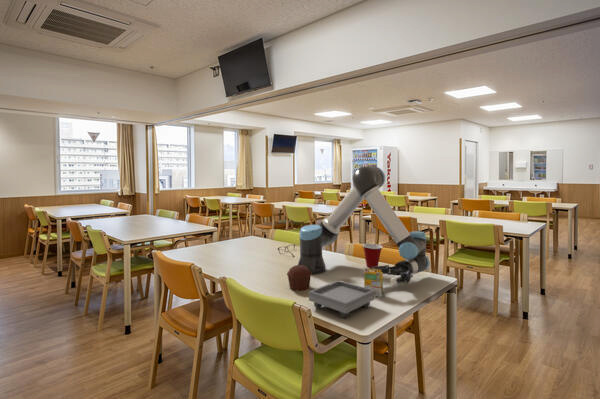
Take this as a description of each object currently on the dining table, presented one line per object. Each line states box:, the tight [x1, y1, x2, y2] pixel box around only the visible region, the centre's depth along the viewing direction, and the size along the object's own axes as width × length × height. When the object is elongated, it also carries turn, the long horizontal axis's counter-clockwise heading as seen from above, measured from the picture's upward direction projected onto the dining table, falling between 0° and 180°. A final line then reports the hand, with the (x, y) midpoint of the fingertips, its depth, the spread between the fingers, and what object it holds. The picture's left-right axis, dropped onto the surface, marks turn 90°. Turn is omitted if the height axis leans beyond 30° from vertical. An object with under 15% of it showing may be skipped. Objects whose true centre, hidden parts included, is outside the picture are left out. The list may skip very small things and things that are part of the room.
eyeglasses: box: [277, 243, 300, 258], centre depth 221 cm, size 16×16×4 cm
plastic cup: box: [362, 243, 384, 269], centre depth 186 cm, size 11×11×12 cm
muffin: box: [286, 264, 313, 292], centre depth 155 cm, size 12×11×10 cm
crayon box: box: [363, 267, 384, 298], centre depth 144 cm, size 7×3×12 cm, turn 66°
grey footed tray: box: [308, 280, 376, 319], centre depth 132 cm, size 18×18×6 cm
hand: (377, 278), depth 145 cm, fingers open, 13 cm apart
